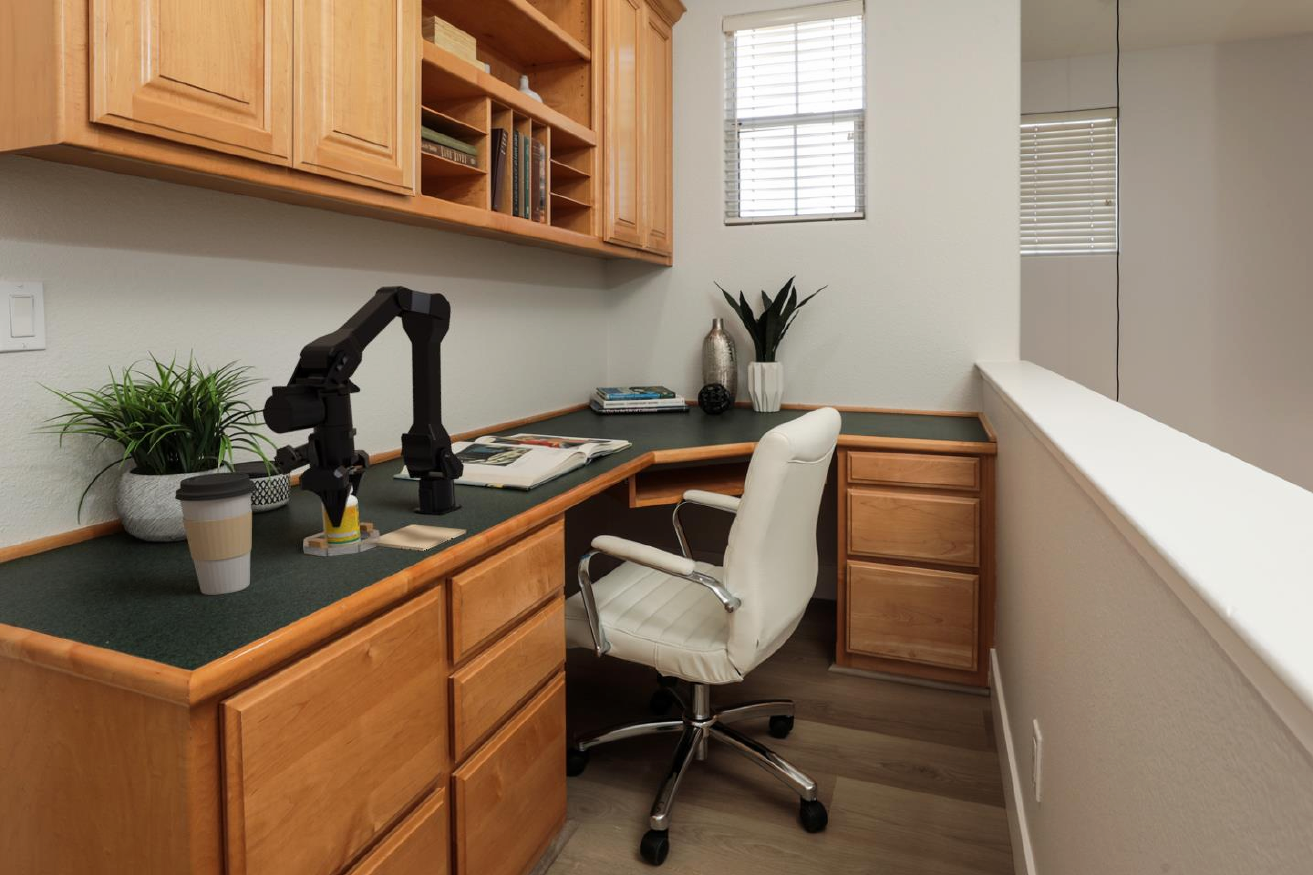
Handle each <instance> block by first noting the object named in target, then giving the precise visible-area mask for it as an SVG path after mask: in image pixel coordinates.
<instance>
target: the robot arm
mask: <svg viewBox="0 0 1313 875" xmlns="http://www.w3.org/2000/svg"><path fill="white" fill-rule="evenodd" d="M374 294H375V295H373V296H372V297H371V298H370V299H369V300H368V301H367V302H366V303H364V305H363V306H361V308H359V309H358V310H357V311H356V312H355V313H354V314H353V315H352V316H351V317H350V318H349V319H348V320H347V321H345V323H344V324H342V325H341V326H340V327H339V328H338V329H336V330H334V331H333V332H330V333H327V334H325V335H322V336H319V337H318V338H315V339H314V340H312V341H311V342H309V343H307V344H306V345H304V347H302V349H301V351H300V352H299V359H298V361H297V364H296V365H295V367H294V370H293V372H292V374H291V377H290V378H289V380H288V382H287V385H275V386H274V385H273V386H271V395H269V397H267V399H266V401H265V403H264V406H263V408H262V415H263V420H264V423H265V425H266V426H267V428H269V430H271V431H272V433H275V434H279V435H282V434H287V433H288V434H289V433H292V432H299V431H304V430H309V429H312V430H313V432H311V433H310V434H309V435H308V436H307V441H308V442H306V443H302V444H301V445H300V444H299V445H298V446H296V447H293V446H291V445H290V444H287V445H285V446H283V447H279V448H277V449H276V453H275V456H274V457H273V460H274V464H273V465H274V467H275V468H279V470H280V471H281V474H282V476H285V475H288V474H290V473H292V472H293V471H295V470H298V469H300V468H302V467H305V466H308V465H309V467H308V468H307V469H305V470H304V471H303V472H302V473H301V474H300V475H299V476H298V486H299V491H308V492H312V493H314V494H315V495H317V496H318V497H320V500H321V503H322V502H323V504H324V507H325V509H326V512H327V514H328V517H329V519H330V522H331V524H332V527H340V526H341V523H342V519H343V516H344V512H345V509H346V505H347V501H348V498H349V494H350V491H351V487H352V488H353V491H352V493H351V495H353V496H355V497H356V498H357V496H358V493H359V490H360V488H361V485H362V482H363V480H364V477H365V475H366V471H365V470H357V467H362V469H367V468H369V467H370V466H371V464H370V455H369V453H368V452H366V450H364V449H355V448H356V446H355V437H354V436H357V435H358V434H357V428H356V427H354V425H353V412H352V401H351V400H352V399H351V394H356V393H360V392H361V388H360V387H359V386H358V385H357V384H355V383H354V382H353V381H352V380H351V379H350V378H352V376H353V375H354V374H355V372H356V371H357V369H358V368H359V366H360V364H362V361H363V352H364V350H365V349H366V348H367V347H368V346H369V345H370V344H371V343H372V341H374V340H375V339H376V338H377V336H379V334H380V333H382V332H383V330H385V329H386V327H387V326H389V325H390V324H391V322H393V321H394V320H395V318H400V319H401V325H402V326H401V327H402V329H403V330H404V333H405V334H406V336H407V338H408V339H409V341H410V343H411V364H412V365H411V373H412V375H411V376H412V424H411V426H410V428H409V430H408V431H407V432H402V434H401V436H400V440H401V453H400V456H401V457H402V458H403V459H402V460H403V464H404V465H405V467H406V470H407V473H408V476H409V478H410V479H418V489H417V490H418V503H419V507H416V508H414V509H413V512H414V513H420V514H421V513H422V514H431V515H432V514H433V515H444V514H447V513H450V512H452V511H454V510H455V511H456V510H458V509H460V508H463V503H456V492H455V480H458V479H460V478H462V477H463V476H464V475H463V474H464V468H465V465H464V463H462V461H461V460H460V459H459V458H458V457H457V455H456V454H455V452H454V451H453V446H452V440H451V436H450V435H449V433H448V431H447V429H446V428H445V426H444V425H443V421H442V367H441V366H442V360H441V359H442V357H441V356H442V352H441V351H442V348H441V345H442V342H443V340H444V338H445V336H446V335H447V333H448V332H449V330H450V323H451V313H452V312H451V310H452V308H451V303H450V301H449V300H447V298H446V296H444V294H442V293H440V292H435V293H434V292H433V293H432V292H430V293H429V292H424V291H423V292H422V291H418V290H413V289H410V288H408V287H405V286H403V285H395V286H381V287H380V288H378V289H377V290H376V291H375V293H374Z"/></svg>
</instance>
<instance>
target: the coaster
mask: <svg viewBox="0 0 1313 875" xmlns="http://www.w3.org/2000/svg"><path fill="white" fill-rule="evenodd" d="M466 533H467V529H463V528H452V527H445V526H444V527H443V526H435V525H434V526H432V525H421V524H412V523H411V524H410V525H407V526H405V527H401V528H399V529H396V530H394V531H392V532H391V531H390V532H388V533H386V534H383V535H380V540H381V541H380V542H378V543H377V546H376V547H385V548H394V549H401V548H402V549H403V550H409V549H411V550H410V551H418V550H419V551H420V552H424V550H425V551H426V549H427V550H429V549H431V548H434V547H436V546H438V545H440V544H443V543H445V541H446V542H448V541H450V540H452V539H451V538H453V539H455V538H457V537H459V536H462V535H464V534H466ZM447 540H448V541H447Z"/></svg>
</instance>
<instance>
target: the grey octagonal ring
mask: <svg viewBox="0 0 1313 875" xmlns="http://www.w3.org/2000/svg"><path fill="white" fill-rule="evenodd" d="M359 523H360V536H361V539H362V540H361V541H359V542H356V543H351V544H343V545H334V546H328V543H327V539H324V531H322V532H319V533H316V534H313V535H310V536H307V537H304V538H303V544H302V546H303V554H306V555H311V556H320V557H333V556H341V555H351V554H358V553H362V552H365V551H368V550H370V549H372V548H375V547H378V546H377V543H378V542H380V541H381V540H380V536H381V535H380V530H378V529H374V524H373V523H372V522H362V521H361V522H359Z"/></svg>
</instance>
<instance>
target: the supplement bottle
mask: <svg viewBox="0 0 1313 875" xmlns="http://www.w3.org/2000/svg"><path fill="white" fill-rule="evenodd" d="M352 491H353V488H352V487H351V491H350V494H349V498H348V501H347V505H346V509H345V512H344V516H343V519H342V523H341V526H340V527H332V524H331V522H330V519H329V517H328V514H327V512H326V509H325V507H324V504H323V502H322V501H321V518H322V530H323V532H324V539H327V543H328V546H334V545H343V544H351V543H356V542H359V541H362V540H361V539H362V538H361V536H360V523H361V522H360V514H359V513H360V512H359V502H358V501H359V500H358V499H357V496H356V497H355V496H353V495H351V493H352Z"/></svg>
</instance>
